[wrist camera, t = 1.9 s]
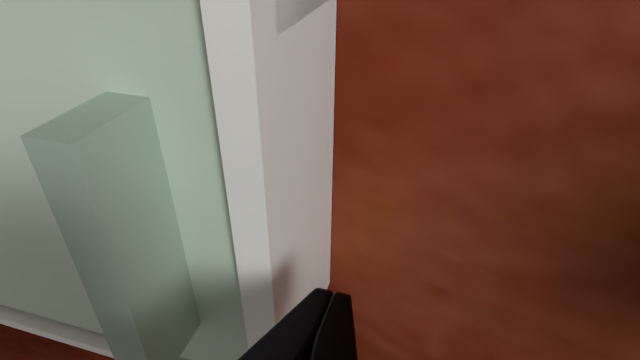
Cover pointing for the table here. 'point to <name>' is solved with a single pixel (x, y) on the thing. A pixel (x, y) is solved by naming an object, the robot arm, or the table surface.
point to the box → (262, 156)
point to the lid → (116, 177)
